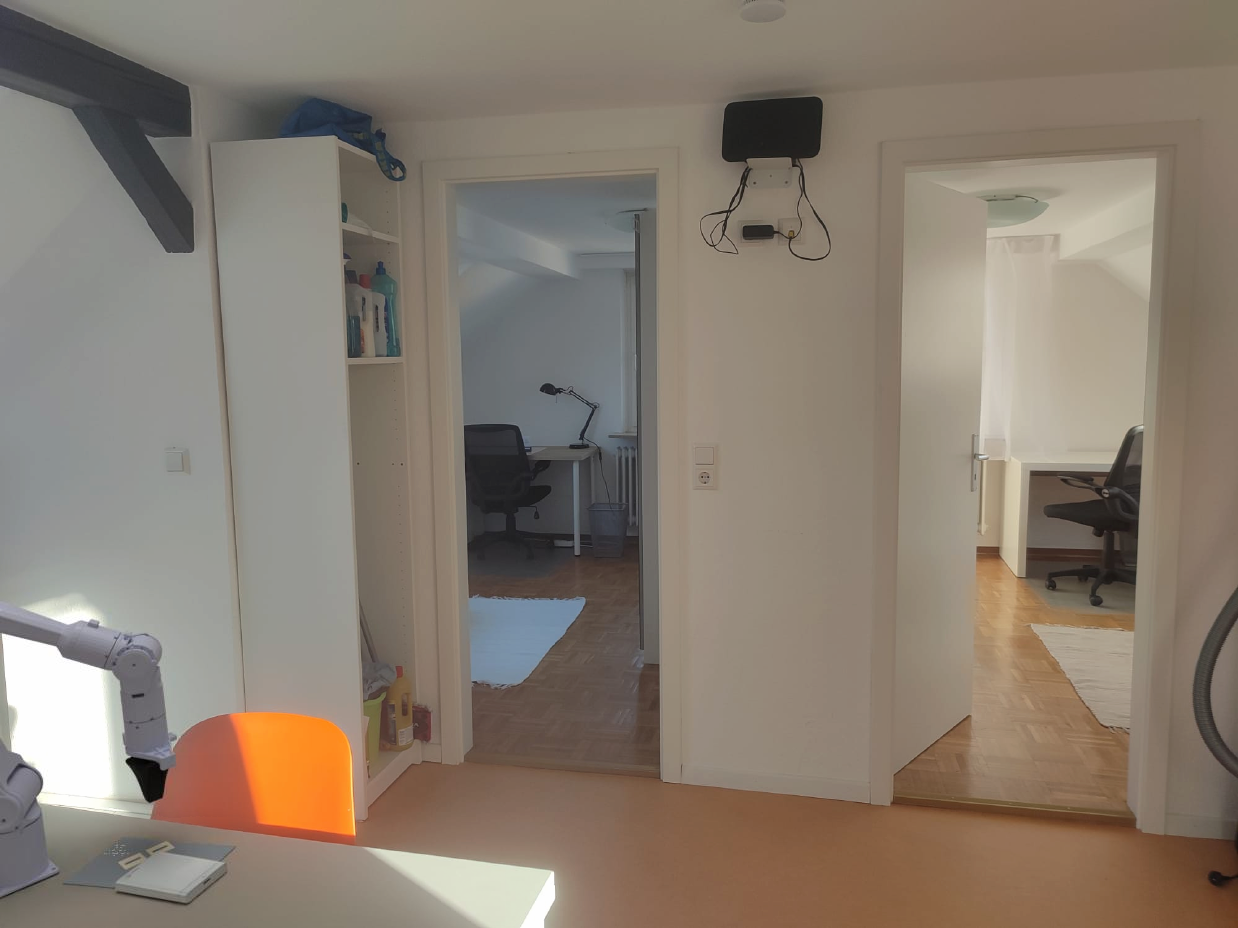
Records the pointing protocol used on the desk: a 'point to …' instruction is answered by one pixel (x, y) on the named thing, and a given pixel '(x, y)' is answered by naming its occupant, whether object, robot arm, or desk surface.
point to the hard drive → (171, 877)
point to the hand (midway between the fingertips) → (154, 799)
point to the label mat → (139, 859)
